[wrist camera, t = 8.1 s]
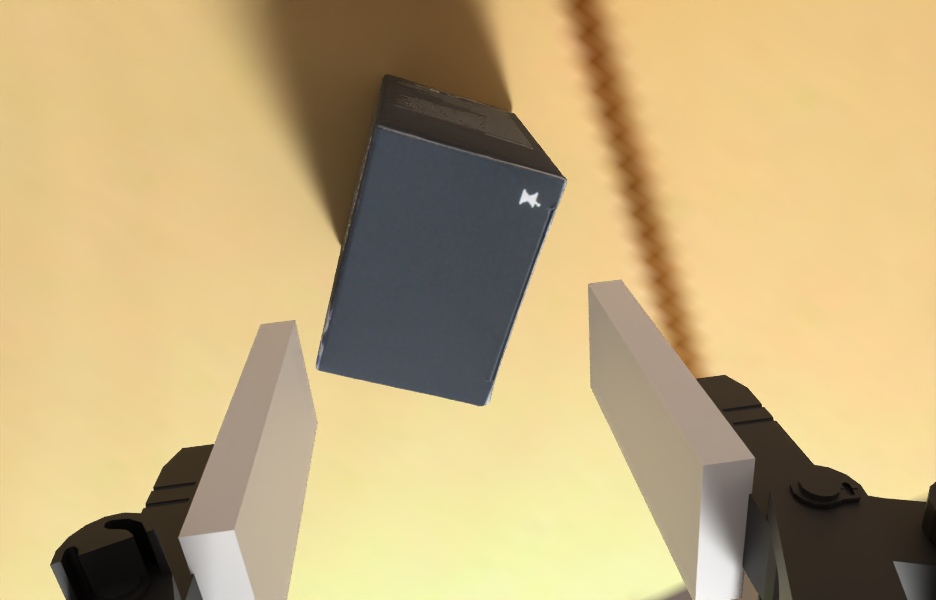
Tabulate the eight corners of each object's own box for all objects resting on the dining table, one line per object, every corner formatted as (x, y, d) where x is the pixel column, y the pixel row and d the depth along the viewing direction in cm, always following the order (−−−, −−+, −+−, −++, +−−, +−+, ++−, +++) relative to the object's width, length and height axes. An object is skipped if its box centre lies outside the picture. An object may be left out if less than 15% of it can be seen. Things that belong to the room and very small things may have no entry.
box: (381, 70, 28) (375, 119, 18) (516, 111, 29) (577, 177, 19) (336, 252, 31) (310, 376, 21) (461, 282, 32) (490, 414, 22)
